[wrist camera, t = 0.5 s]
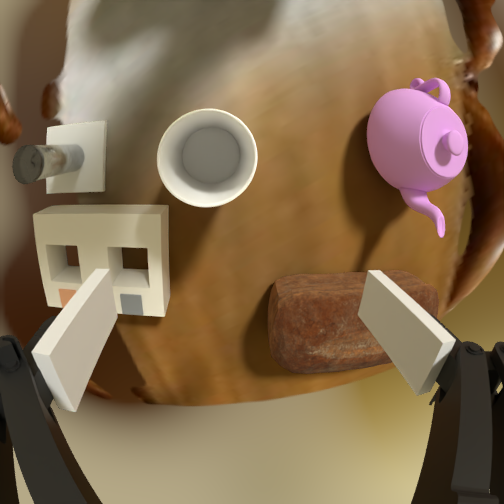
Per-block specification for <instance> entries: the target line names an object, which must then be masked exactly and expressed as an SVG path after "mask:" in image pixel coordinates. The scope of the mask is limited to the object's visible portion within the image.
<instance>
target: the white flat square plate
mask: <svg viewBox="0 0 504 504" xmlns="http://www.w3.org/2000/svg"><path fill="white" fill-rule="evenodd" d="M106 136H107V121H106V120H103V121H93V122H83V123H75V124H67V125H60V126H54V127H48V128H47V144H46V145H58V144H77V145H79V146H80V147H81V148H82V149H83V151H84V156H85V157H84V163H83V165H82V166H81V168H80V169H79V170H77V171H75V172H70V173H66V174H61V175H57V176H53V177H48V178H46V188H47V194H50V193H74V192H103V191H105V161H106Z"/></svg>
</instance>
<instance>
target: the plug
mask: <svg viewBox="0 0 504 504" xmlns="http://www.w3.org/2000/svg"><path fill="white" fill-rule="evenodd" d="M84 157H85V156H84V151H83V149H82V148H81V147H80V146H79V145H77V144H58V145H25V146H22V147H21V148H20V149H19V150H18V151H17V152H16V154H15V156H14V159H13V173H14V176H15V178H16V179H17V180H18V182H20V183H22V184H28V183H32V182H35V181H36V180H40V179H44V178H48V177H53V176H57V175H61V174H66V173H70V172H75V171H77V170H79V169H80V168H81V166H82V165H83V163H84Z"/></svg>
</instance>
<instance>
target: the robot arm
mask: <svg viewBox="0 0 504 504" xmlns="http://www.w3.org/2000/svg"><path fill="white" fill-rule="evenodd" d="M358 316H359V317H360V319H361V320H362V321H363V323H364V324H365V325H366V327H367V328H368V329H369V331H370V332H371V333H372V334H373V336H374V337H375V339H376V340H377V341H378V343H379V344H380V345H381V347H382V348H383V349H384V351H385V352H386V353H387V355H388V356H389V357H390V359H391V360H392V362H393V363H394V364H395V366H396V367H397V368H398V370H399V371H400V373H401V374H402V375H403V377H404V378H405V380H406V381H407V382H408V384H409V385H410V387H411V388H412V389H413V391H414V392H415V394H416V395H421V394H424V393H427V392H430V390H431V389H432V387H433V385H434V383H435V381H436V382H437V383H438V384H439V385H440V386H439V388H438V390H437V391H436V393H435V395H434V396H433V398H432V400H431V401H430V404H429V405H432V403H433V402H434V401H435V405H434V413H433V419H432V425H431V430H430V435H429V440H428V445H427V449H426V454H425V458H424V462H423V466H422V469H421V473H420V477H419V480H418V484H417V487H416V490H415V493H414V496H413V499H412V502H411V504H504V342H497V343H496V344H495V346H494V348H493V350H492V351H490V352H489V351H484V350H483V348H482V347H481V346H479V345H478V344H476V343H473V342H468V341H466V342H463V343H462V342H461V341H460V340H459V339H458V338H457V337H456V336H455V335H454V334H453V333H452V332H450V331H449V330H448V329H447V328H445V326H444V325H443V324H442V323H440V321H439V320H438V319H437V318H436V317H435V316H433V315H431V314H430V313H428V312H426V311H425V310H424V309H423V308H422V307H421V306H420V305H419V304H417V303H416V302H415V301H414V300H413V299H412V298H411V297H410V296H409V295H408V294H406V293H405V292H404V291H403V290H402V289H401V288H400V287H398V286H397V285H396V284H395V283H394V282H393V281H392V280H390V279H389V278H388V277H387V276H386V275H385V274H384V273H382V272H381V271H380V270H368V273H367V278H366V282H365V287H364V291H363V295H362V299H361V303H360V307H359V311H358ZM117 318H118V316H117V310H116V305H115V300H114V294H113V288H112V281H111V275H110V269H95V271H94V272H93V273H92V274H91V275H90V276H89V278H88V279H87V280H86V281H85V282H84V284H83V285H82V286H81V287H80V288H79V290H78V291H77V292H76V293H75V294H74V296H73V297H72V298H71V299H70V301H69V302H68V303H67V304H66V306H65V307H64V308H63V310H62V311H61V312H60V313H59V315H58V316H52V317H51V318H49V319H47V320H46V321H45V322H44V323H43V324H42V325H41V326H40V328H39V330H38V331H37V332H36V333H35V334H34V336H33V337H32V338H31V340H30V341H29V342H28V344H27V345H26V346H25V348H24V349H23V350H22V348H21V346H20V343H19V341H18V339H17V338H16V337H14V336H11V335H6V336H1V337H0V504H19V499H18V493H17V486H16V479H15V470H14V459H13V448H14V451H15V454H16V457H17V460H18V463H19V466H20V469H21V472H22V474H23V477H24V480H25V482H26V485H27V487H28V490H29V492H30V495H31V497H32V499H33V501H34V504H102V502H101V501H100V499H99V498H98V496H97V495H96V493H95V492H94V490H93V488H92V487H91V485H90V484H89V482H88V480H87V479H86V477H85V475H84V474H83V472H82V470H81V468H80V466H79V464H78V463H77V461H76V459H75V457H74V455H73V453H72V451H71V449H70V447H69V445H68V443H67V441H66V439H65V437H64V435H63V433H62V431H61V429H60V426H59V424H58V422H57V419H56V417H55V415H54V412H53V410H52V408H51V407H50V404H51V402H52V400H53V398H54V400H55V402H56V404H57V406H58V408H60V409H63V410H68V411H72V412H76V410H77V408H78V405H79V403H80V400H81V398H82V395H83V393H84V390H85V388H86V386H87V383H88V381H89V378H90V376H91V374H92V371H93V369H94V367H95V365H96V362H97V360H98V358H99V355H100V353H101V351H102V349H103V347H104V345H105V342H106V340H107V338H108V336H109V334H110V332H111V330H112V328H113V326H114V324H115V322H116V320H117ZM501 382H502V384H503V388H502V389H501V391H500V392H499V394H498V393H497V391H496V389H497V388H498V386H499V385H500V383H501ZM489 489H490V493H489Z"/></svg>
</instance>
